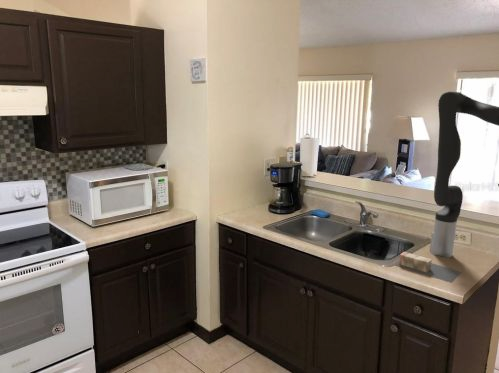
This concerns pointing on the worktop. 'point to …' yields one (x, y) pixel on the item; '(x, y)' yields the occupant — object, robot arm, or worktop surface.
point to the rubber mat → (437, 272)
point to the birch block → (415, 261)
